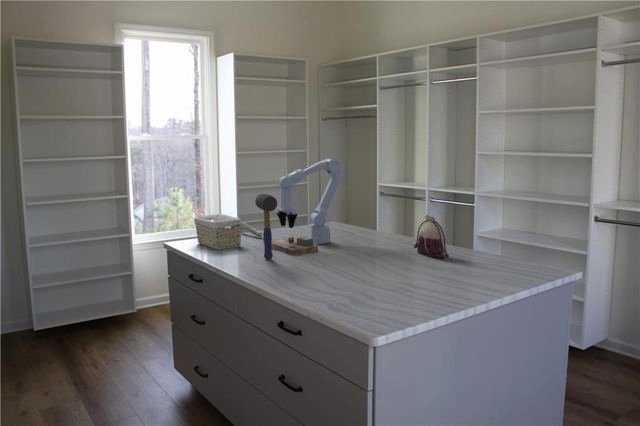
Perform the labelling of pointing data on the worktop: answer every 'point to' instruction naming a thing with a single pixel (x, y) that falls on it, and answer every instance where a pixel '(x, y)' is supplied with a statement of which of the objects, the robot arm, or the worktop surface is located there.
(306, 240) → the block
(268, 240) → the rubber mallet
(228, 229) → the storage basket
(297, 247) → the board
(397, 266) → the worktop surface
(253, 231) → the gun
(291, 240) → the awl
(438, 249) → the pouch
